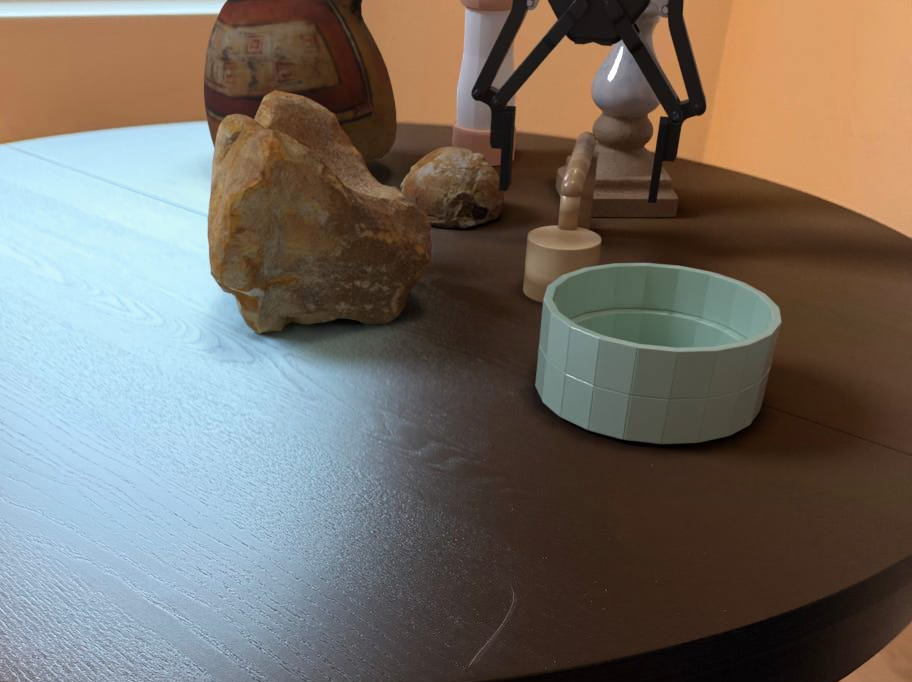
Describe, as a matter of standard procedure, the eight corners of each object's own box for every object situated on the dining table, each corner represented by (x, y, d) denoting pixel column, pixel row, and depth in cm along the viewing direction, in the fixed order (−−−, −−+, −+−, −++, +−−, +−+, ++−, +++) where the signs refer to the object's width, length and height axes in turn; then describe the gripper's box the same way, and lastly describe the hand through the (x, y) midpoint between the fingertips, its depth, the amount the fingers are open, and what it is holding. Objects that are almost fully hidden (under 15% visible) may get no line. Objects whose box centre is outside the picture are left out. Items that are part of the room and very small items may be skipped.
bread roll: (427, 268, 101) (450, 200, 95) (374, 197, 104) (393, 126, 98) (504, 250, 106) (532, 184, 99) (452, 182, 109) (475, 114, 102)
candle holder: (653, 186, 113) (693, -79, 98) (677, 217, 104) (725, -68, 89) (553, 185, 112) (578, -82, 97) (570, 217, 104) (601, -71, 89)
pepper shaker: (492, 147, 124) (503, -43, 112) (526, 162, 119) (541, -35, 107) (440, 153, 121) (445, -41, 109) (472, 169, 117) (481, -32, 105)
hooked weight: (591, 314, 84) (605, 200, 78) (518, 307, 85) (527, 193, 79) (608, 230, 101) (621, 131, 95) (547, 225, 101) (556, 127, 96)
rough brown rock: (412, 385, 75) (436, 164, 66) (184, 355, 74) (176, 129, 65) (432, 280, 93) (452, 97, 84) (249, 256, 93) (250, 70, 84)
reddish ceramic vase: (210, 151, 120) (176, -178, 101) (382, 148, 123) (380, -172, 104) (213, 202, 105) (174, -173, 86) (409, 196, 108) (413, -167, 89)
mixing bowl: (752, 368, 76) (774, 273, 72) (762, 467, 65) (789, 362, 60) (548, 347, 79) (557, 254, 74) (522, 440, 67) (531, 336, 62)
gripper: (767, -89, 82) (715, 192, 95) (460, -102, 86) (451, 171, 99) (773, -82, 76) (717, 216, 90) (443, -96, 80) (436, 193, 93)
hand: (577, 193), depth 94 cm, fingers open, 13 cm apart
